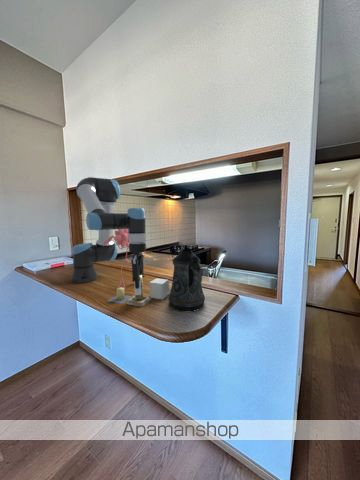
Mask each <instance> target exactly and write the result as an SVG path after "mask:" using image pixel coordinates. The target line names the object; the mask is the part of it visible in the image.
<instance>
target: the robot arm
mask: <svg viewBox="0 0 360 480" xmlns="http://www.w3.org/2000/svg"><path fill="white" fill-rule="evenodd" d="M75 192H76V195H77V197H78V198H79V199H80V200H81V201H82V204H83V205H84V207H85V210H86V212H87V214H86V216H85V217H86V219H85V221H86V222H85V223H86V227H87V229H88V230H90V231H98V239H97V240H96V241H95V244H93V242H86V243H79V244H76V245H74V246H73V247H72V265H73V270H72V274H71V277H70V282H71V283H73V284H85V283H91V282H94V281H96V280H97V279H98V275H97V272H96V269H95V267H94V263H100V262H101V263H103V262H110V261H113V260H115V259H116V258H117V255H118V245H116V242H115V240H114V239H113V238H112V239H111V241H110V242H109V243H108V244H106V245H105V246H103V245H104V243H105V241H106V240H107V239H108V238H110V237H111V236H113V231H114V230H118V229H128V233H129V235H128V236H127V237H128V238H129V248H128V251H129V252H130V253H133V255H132V259H131V260H130V262H131V272H132V273H131V274H132V276H131V277H132V278H133V280H132V279H131V281H132V282H133V281H134V282H133V283H134V285H133V287H134V289H133V290H134V296H135V295H141V280H140V275H142V282H143V283H144V279H143V278H145V275H144V272H145V271H144V256H145V255H144V254H143V253H144V252H146V250H147V243H146V241H147V240H146V239H147V234H146V213H145V212H146V211H145V209H144V208H141V207H129V208H127V212H126V213H123V212H122V213H118V212H117V213H116V212H115V211H114V208H115V207H114V205H115V204H116V203H117V200H119V199H120V197H121V187H120V184H119V182H118V181H117V180H116V179H112V178H102V177H101V178H100V177H94V176H93V177H92V176H90V177H84V178H82V179H81V180H80V181H79V182H78V183H77V185H76V187H75Z"/></svg>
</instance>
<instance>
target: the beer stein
mask: <svg viewBox="0 0 360 480" xmlns="http://www.w3.org/2000/svg"><path fill="white" fill-rule="evenodd" d="M175 256H176V257H175V258H173V259H172V265H173V273H172V281H171V289H170V291H169V295H168V296H167V299H168V303H169V307H170V308H171V309H173V310H175V311H177V310H178V311H177V312H182V311H191V312H195V311H194V310H196V311H198V310H197V309H199V310H200V308H201V307H202V308H203V307H204V305H205V301H206V296H205V294H204V291H203V287H202V282H203V270H202V267H201V265H200V264H201V259H200V257H198V256H197V254H195V253H194V252H193V250H192V249H181V252H180V253H179V254H177V255H175ZM202 308H201V309H202Z"/></svg>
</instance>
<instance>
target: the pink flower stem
mask: <svg viewBox="0 0 360 480" xmlns="http://www.w3.org/2000/svg"><path fill="white" fill-rule="evenodd" d="M114 234H115V235H112V236H111V237H110V238H108V239H107V240H106V241H105V243H104V245H103V246H105V245H106V244H108V243H109V242H110V241H111V239H112V240H113V241H114V242H115V244H116V245H117V248H118V249H119V250H123V249H125V248H126V251H125V252H126V254H125V259H123V260H124V261H123V264H122V266H121V268H120V274H121V275H120V276H121V278H120V282H119V283H118V284H117V285H118V286H117V288H120V286H121V285H122V286H123V288H124V291H125V290H126V286H125V282H126V281H124V280H125V279H124V278H123V270H122V269H123V267H124V265H125V264H126V265H128V264H132V262H131V261H130V260H129V259H128V258H127V257H128V251H129V244H130V242H129V238H128V237H127V236H128V235H129V233H128V229H117V230H114ZM132 280H133V277H132V279H131V281H132ZM132 282H133V283H134V281H132ZM145 283H147V281H146V282H145ZM117 288H116V289H117Z"/></svg>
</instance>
